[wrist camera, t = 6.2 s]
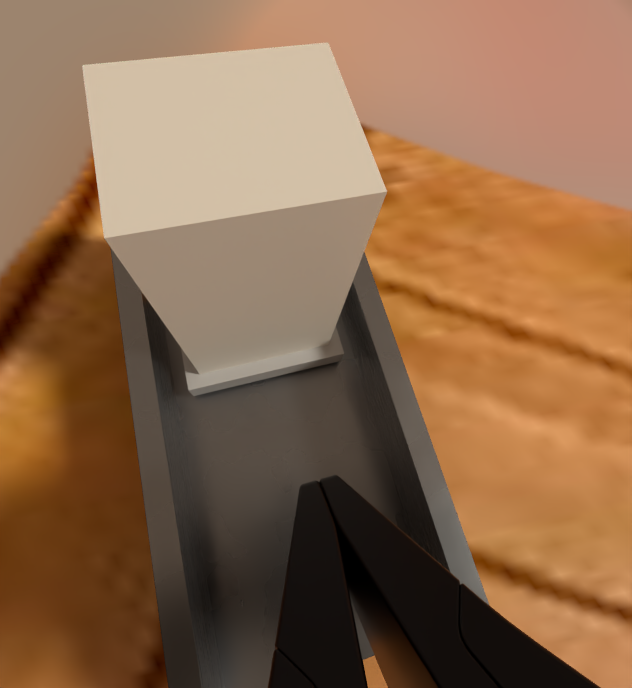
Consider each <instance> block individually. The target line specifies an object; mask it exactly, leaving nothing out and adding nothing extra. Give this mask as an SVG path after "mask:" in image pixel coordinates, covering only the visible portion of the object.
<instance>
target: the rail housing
mask: <svg viewBox="0 0 632 688" xmlns="http://www.w3.org/2000/svg"><path fill="white" fill-rule="evenodd" d="M111 255H112V262H113V270H114V277H115V285H116V293H117V300H118V308H119V315H120V323H121V331H122V338H123V346H124V353H125V361H126V369H127V376H128V384H129V391H130V399H131V407H132V414H133V422H134V429H135V437H136V444H137V452H138V460H139V467H140V475H141V482H142V490H143V498H144V505H145V513H146V520H147V528H148V536H149V543H150V551H151V558H152V566H153V574H154V581H155V589H156V596H157V604H158V612H159V619H160V627H161V634H162V642H163V649H164V657H165V665H166V672H167V680H168V687H169V688H268V682H269V677H270V671H271V665H272V658H273V652H274V650H275V641H276V634H277V628H278V622H279V615H280V609H281V602H282V596H283V590H284V583H285V577H286V571H287V564H288V558H289V551H290V545H291V539H292V532H293V526H294V520H295V513H296V507H297V500H298V494H299V488H300V486H301V485H302V484H304V483H308V482H311V481H315V480H316V481H318V482H319V481H320V479H322V478H325V477H329V476H333V475H337V476H339V477H340V478H341V479H342V480H344V481H345V482H346V483H347V484H348V485H349V486H351V487H352V488H353V489H354V490H355V491H356V492H358V493H359V494H360V495H361V496H362V497H363V498H365V499H366V500H367V501H368V502H369V503H370V504H372V505H373V506H374V507H375V508H376V509H377V510H378V511H380V512H381V513H382V514H383V515H384V516H385V517H387V518H388V519H389V520H390V521H391V522H392V523H394V524H395V525H396V526H397V527H398V528H399V529H401V530H402V531H403V532H404V533H405V534H406V535H407V536H409V537H410V538H411V539H412V540H413V541H414V542H416V543H417V544H418V545H419V546H420V547H421V548H423V549H424V550H425V551H426V552H427V553H428V554H430V555H431V556H432V557H433V558H434V559H435V560H436V561H438V562H439V563H440V564H441V565H442V566H443V567H445V568H446V569H447V570H448V571H449V572H450V573H452V574H453V575H454V576H455V577H456V578H457V579H459V581H460V585H461V584H465V585H466V586H467V587H468V588H469V589H470V590H471V591H473V592H474V593H475V594H476V595H477V596H478V597H480V598H481V599H482V600H483V601H484V602H486V603H487V604H488V605H489V603H488V600H487V598H486V595H485V592H484V589H483V586H482V583H481V581H480V578H479V575H478V572H477V569H476V566H475V564H474V561H473V558H472V555H471V552H470V550H469V547H468V544H467V541H466V538H465V535H464V533H463V530H462V527H461V524H460V521H459V518H458V516H457V513H456V510H455V507H454V504H453V501H452V499H451V496H450V493H449V490H448V487H447V484H446V482H445V479H444V476H443V473H442V470H441V468H440V465H439V462H438V459H437V456H436V453H435V451H434V448H433V445H432V442H431V439H430V436H429V434H428V431H427V428H426V425H425V422H424V419H423V417H422V414H421V411H420V408H419V405H418V402H417V400H416V397H415V394H414V391H413V388H412V385H411V383H410V380H409V377H408V374H407V371H406V369H405V366H404V363H403V360H402V357H401V354H400V352H399V349H398V346H397V343H396V340H395V337H394V335H393V332H392V329H391V326H390V323H389V320H388V318H387V315H386V312H385V309H384V306H383V303H382V301H381V298H380V295H379V292H378V289H377V287H376V284H375V281H374V278H373V275H372V272H371V270H370V267H369V264H368V261H367V258H366V255H365V253H363V256H362V258H361V261H360V264H359V266H358V269H357V271H356V274H355V277H354V279H353V282H352V285H351V287H350V290H349V292H348V295H347V298H346V300H345V303H344V305H343V308H342V311H341V313H340V316H339V319H338V321H337V324H336V328H337V332H338V335H339V338H340V341H341V345H342V348H343V351H344V355H343V357H342V359H341V361H338V362H334V363H330V364H326V365H321V366H317V367H313V368H309V369H305V370H301V371H296V372H292V373H288V374H284V375H280V376H276V377H271V378H267V379H263V380H259V381H255V382H251V383H246V384H242V385H238V386H234V387H230V388H226V389H221V390H217V391H213V392H209V393H205V394H201V395H196V396H193V395H192V394H191V393H190V392H189V391H188V385H187V380H186V374H185V369H184V363H183V357H182V352H181V347H180V345H179V344H178V343H177V341H176V340H175V338H174V337H173V335H172V334H171V333H170V331H169V330H168V328H167V327H166V326H165V324H164V323H163V321H162V320H161V318H160V317H159V316H158V314H157V313H156V311H155V310H154V308H153V307H152V306H151V304H150V303H149V301H148V300H147V298H146V297H145V296H144V294H143V293H142V291H141V290H140V288H139V287H138V286H137V284H136V283H135V281H134V280H133V279H132V277H131V276H130V274H129V273H128V271H127V270H126V269H125V267H124V266H123V264H122V263H121V261H120V260H119V259H118V257H117V256H116V254H115V253H114V251H113V250H112V249H111ZM351 603H352V600H351ZM352 609H353V614H354V619H355V624H356V629H357V634H358V639H359V645H360V650H361V655H362V660H364V659H366V658H369V657H371V656H374V653H373V650H372V648H371V645H370V643H369V641H368V638H367V636H366V634H365V631H364V629H363V626H362V624H361V622H360V619H359V617H358V614H357V612H356V610H355V607H354V605H353V603H352Z"/></svg>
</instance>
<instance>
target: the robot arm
mask: <svg viewBox="0 0 632 688" xmlns="http://www.w3.org/2000/svg"><path fill="white" fill-rule="evenodd" d="M351 600H352V603H353V605H354V607H355V610H356V612H357V614H358V617H359V619H360V622H361V624H362V626H363V629H364V631H365V634H366V636H367V638H368V641H369V643H370V645H371V648H372V650H373V653H374V655H375V657H376V660H377V662H378V664H379V667H380V669H381V672H382V674H383V676H384V679H385V681H386V684H387V686H388V688H600V687H599V686H597V685H596V684H595V683H593V682H592V681H590V680H589V679H588V678H586V677H585V676H583V675H582V674H581V673H579V672H578V671H576V670H575V669H574V668H572V667H571V666H569V665H568V664H566V663H565V662H564V661H562V660H561V659H559V658H558V657H557V656H555V655H554V654H552V653H551V652H550V651H548V650H547V649H545V648H544V647H543V646H541V645H540V644H538V643H537V642H536V641H534V640H533V639H532V638H530V637H529V636H528V635H526V634H525V633H524V632H522V631H521V630H520V629H518V628H517V627H516V626H514V625H513V624H511V623H510V622H509V621H508V620H506V619H505V618H504V617H503V616H501V615H500V614H499V613H498V612H497V611H495V610H494V609H493V608H492V607H490V606H489V605H488V604H487V603H486V602H484V601H483V600H482V599H481V598H480V597H478V596H477V595H476V594H475V593H474V592H473V591H471V590H470V589H469V588H468V587H467V586H466V585H465V584H461V585H460V581H459V579H457V578H456V577H455V576H454V575H453V574H452V573H450V572H449V571H448V570H447V569H446V568H445V567H443V566H442V565H441V564H440V563H439V562H438V561H436V560H435V559H434V558H433V557H432V556H431V555H430V554H428V553H427V552H426V551H425V550H424V549H423V548H421V547H420V546H419V545H418V544H417V543H416V542H414V541H413V540H412V539H411V538H410V537H409V536H407V535H406V534H405V533H404V532H403V531H402V530H401V529H399V528H398V527H397V526H396V525H395V524H394V523H392V522H391V521H390V520H389V519H388V518H387V517H385V516H384V515H383V514H382V513H381V512H380V511H378V510H377V509H376V508H375V507H374V506H373V505H372V504H370V503H369V502H368V501H367V500H366V499H365V498H363V497H362V496H361V495H360V494H359V493H358V492H356V491H355V490H354V489H353V488H352V487H351V486H349V485H348V484H347V483H346V482H345V481H344V480H342V479H341V478H340V477H339V476H337V475H333V476H329V477H325V478H322V479H320V481H319V482H318V481H316V480H315V481H311V482H308V483H304V484H302V485H301V486H300V488H299V494H298V500H297V507H296V513H295V520H294V526H293V532H292V539H291V545H290V551H289V558H288V564H287V571H286V577H285V583H284V590H283V596H282V602H281V609H280V615H279V622H278V628H277V634H276V641H275V650H274V652H273V658H272V665H271V671H270V677H269V682H268V688H368V686H367V681H366V675H365V670H364V665H363V660H362V655H361V650H360V645H359V639H358V634H357V629H356V624H355V619H354V614H353V609H352V603H351Z"/></svg>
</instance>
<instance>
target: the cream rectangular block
mask: <svg viewBox="0 0 632 688" xmlns="http://www.w3.org/2000/svg"><path fill="white" fill-rule="evenodd" d="M82 68H83V75H84V83H85V91H86V99H87V107H88V114H89V123H90V130H91V138H92V146H93V154H94V162H95V170H96V178H97V186H98V193H99V201H100V209H101V217H102V225H103V233H104V239H105V240H106V241H107V243H108V244H109V246H110V247H111V249H112V250H113V251H114V253H115V254H116V256H117V257H118V259H119V260H120V261H121V263H122V264H123V266H124V267H125V269H126V270H127V271H128V273H129V274H130V276H131V277H132V279H133V280H134V281H135V283H136V284H137V286H138V287H139V288H140V290H141V291H142V293H143V294H144V296H145V297H146V298H147V300H148V301H149V303H150V304H151V306H152V307H153V308H154V310H155V311H156V313H157V314H158V316H159V317H160V318H161V320H162V321H163V323H164V324H165V326H166V327H167V328H168V330H169V331H170V333H171V334H172V335H173V337H174V338H175V340H176V341H177V343H178V344H179V345H180V347H181V352H182V357H183V363H184V369H185V374H186V380H187V385H188V391H189V392H190V393H191V394H192V395H193V396H196V395H201V394H205V393H209V392H213V391H217V390H221V389H226V388H230V387H234V386H238V385H242V384H246V383H251V382H255V381H259V380H263V379H267V378H271V377H276V376H280V375H284V374H288V373H292V372H296V371H301V370H305V369H309V368H313V367H317V366H321V365H326V364H330V363H334V362H338V361H341V359H342V357H343V355H344V351H343V348H342V345H341V341H340V338H339V335H338V332H337V328H336V324H337V321H338V319H339V316H340V313H341V311H342V308H343V305H344V303H345V300H346V298H347V295H348V292H349V290H350V287H351V285H352V282H353V279H354V277H355V274H356V271H357V269H358V266H359V264H360V261H361V258H362V256H363V253H364V250H365V248H366V245H367V243H368V240H369V237H370V235H371V232H372V229H373V227H374V224H375V222H376V219H377V216H378V214H379V211H380V209H381V206H382V203H383V201H384V198H385V195H386V193H387V190H386V188H385V185H384V183H383V180H382V178H381V175H380V173H379V170H378V168H377V165H376V162H375V160H374V157H373V155H372V152H371V150H370V147H369V145H368V142H367V140H366V137H365V135H364V132H363V129H362V127H361V124H360V122H359V119H358V117H357V114H356V112H355V109H354V107H353V104H352V102H351V99H350V97H349V94H348V91H347V89H346V86H345V84H344V81H343V79H342V76H341V74H340V71H339V69H338V66H337V64H336V61H335V59H334V56H333V53H332V51H331V48H330V46H329V43H318V44H308V45H296V46H285V47H276V48H275V47H274V48H264V49H253V50H242V51H231V52H220V53H209V54H198V55H187V56H176V57H166V58H155V59H145V60H144V59H143V60H132V61H123V62H122V61H121V62H111V63H100V64H89V65H82Z"/></svg>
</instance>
